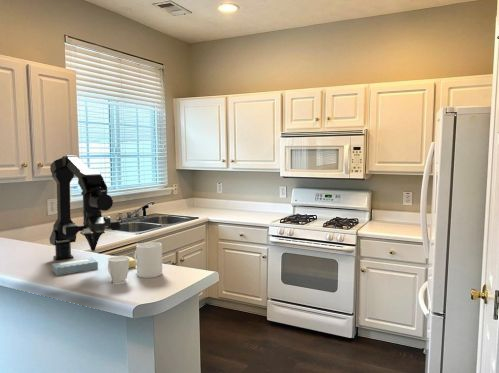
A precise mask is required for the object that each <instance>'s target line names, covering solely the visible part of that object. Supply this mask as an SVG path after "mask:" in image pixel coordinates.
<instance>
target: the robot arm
mask: <svg viewBox="0 0 499 373" xmlns="http://www.w3.org/2000/svg"><path fill="white" fill-rule="evenodd" d="M49 167H50V168H49V169H50V173H51V177H52V178H53V180H54V181H55V184H56V204H57V205H56V206H57V210H56V211H57V219H56V220H55V221H54V222H55V223H53V226H52V227H53V228H52V231H51V234H50V236H49V243H50V244H49V245H53V246H54V247H55V249H54V250H55V255H53V258H54V259H55V260H56V261H59V260H60V261H61V260H66V259H73V258H74V256H73V254H72V249H71V245H72V244H71V243H76V241H77V234H78V233H79V232H80V234H81V235H82V236H84V237H85V239H86V240H87V243H88V245H89V248H90V250H91V252H95V251H96V248H97V245H98V243H99V240H100V237H101V236H102V235H104V234H105V233H106V232H105V230H106V229H110V230H112V231H116V230H121V228H122V227H121V226H122V225H121V222H120V221H118V220H116V219H113V220H112V219H111V216H110V215H106V216H105V215H104V216H103V215H102V211H104V212H105V211H109V210H111V208H112V206H113V204H114V200H113V198H112V197H111V195H109V194H108V186H107V184H106V182H105V180H104V177H103V176H102V174H101V172H98V171H96V170H92V169H90V168H88V166H86V165H85V164H84V163H83V161H81V160H80V157H79V156H78V155H75V154H71V155H70V154H67V155H63V156H62V157H60V158H57V159H55V160H54V161H53V162H52V163H51V164H50V166H49ZM74 177H77V179H78V180H77V184H78V185H79V187H80V189H81V190H82V191H81V193H80V195H82V214H83V216H82V217H83V225H77V224H76V223H75V222H73V219H72V218H71V185H70V184H71V182H72V181H73V179H74Z"/></svg>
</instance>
